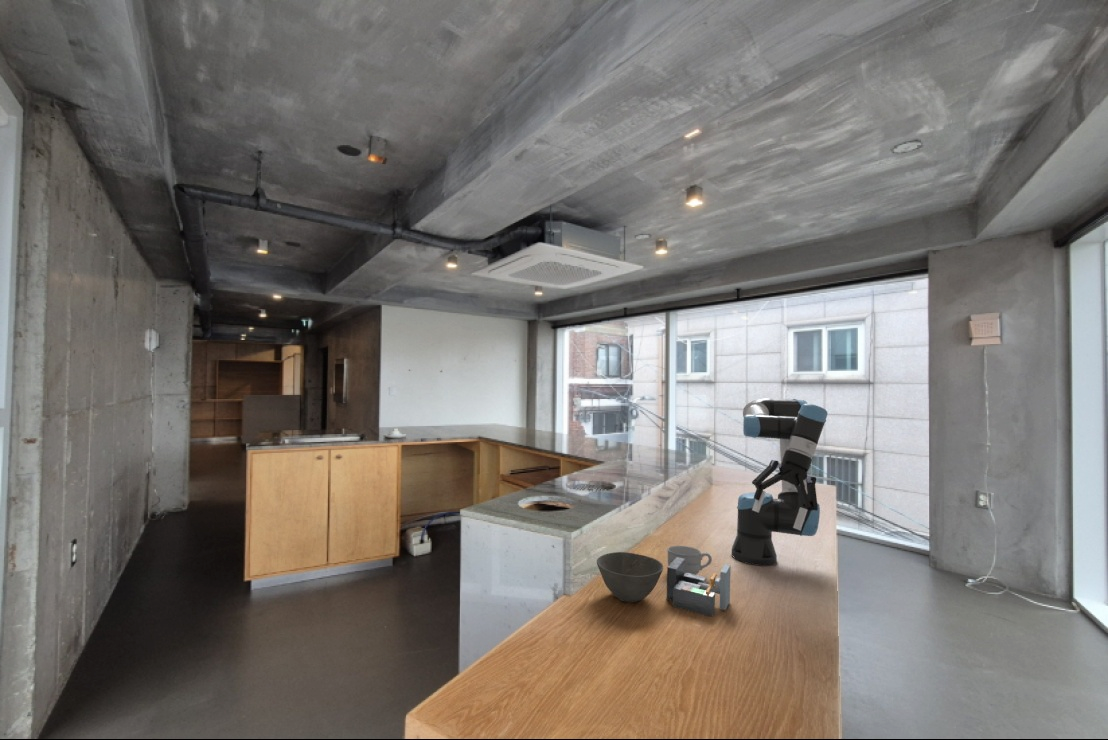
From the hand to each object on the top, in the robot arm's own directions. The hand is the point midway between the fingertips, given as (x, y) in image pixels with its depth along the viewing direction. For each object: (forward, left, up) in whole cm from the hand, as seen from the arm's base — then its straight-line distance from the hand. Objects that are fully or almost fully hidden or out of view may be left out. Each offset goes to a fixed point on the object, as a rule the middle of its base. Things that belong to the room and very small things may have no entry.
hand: (775, 520), depth 139 cm
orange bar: (+18, -15, -17) cm, 29 cm away
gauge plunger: (+15, -15, -22) cm, 30 cm away
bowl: (+26, -36, -23) cm, 50 cm away
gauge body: (+17, -20, -22) cm, 34 cm away
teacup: (-2, -26, -23) cm, 34 cm away
